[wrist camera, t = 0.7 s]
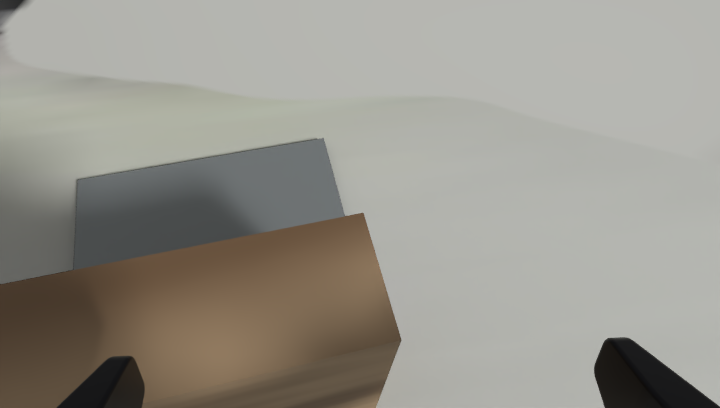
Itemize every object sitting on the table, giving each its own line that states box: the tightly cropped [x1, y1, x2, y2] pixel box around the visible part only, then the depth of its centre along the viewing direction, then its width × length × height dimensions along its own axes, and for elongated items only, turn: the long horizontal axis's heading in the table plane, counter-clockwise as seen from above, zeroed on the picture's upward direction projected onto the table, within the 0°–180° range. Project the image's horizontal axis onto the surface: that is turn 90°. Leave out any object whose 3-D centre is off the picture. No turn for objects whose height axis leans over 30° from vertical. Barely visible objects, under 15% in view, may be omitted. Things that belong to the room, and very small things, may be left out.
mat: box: [73, 138, 345, 270], centre depth 26 cm, size 11×14×1 cm
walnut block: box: [0, 213, 401, 408], centre depth 18 cm, size 4×12×11 cm, turn 104°
